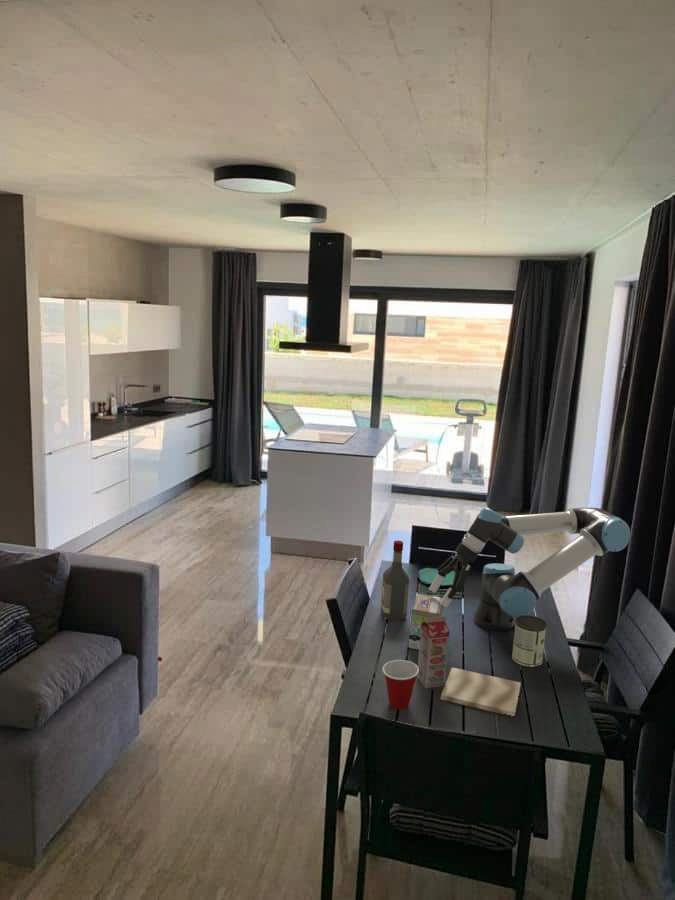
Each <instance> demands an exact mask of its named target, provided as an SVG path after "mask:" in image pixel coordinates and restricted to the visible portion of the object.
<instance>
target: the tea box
mask: <svg viewBox="0 0 675 900" xmlns="http://www.w3.org/2000/svg"><path fill="white" fill-rule="evenodd" d="M427 595H428V594H422V593H421V594H420V593H417V594H416V596H415V599H414V603H413V606H412V610H411V621H410V629H409V637H408V648H409V649H412V650H413V649H415V650H418V651H419V647H420V635H421V623H426V618H430V617H443V616H442V615H443V607H444V606H443V605H442V604H440V602H441V601H442V599H443V597H434V596H427Z"/></svg>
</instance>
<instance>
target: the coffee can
mask: <svg viewBox="0 0 675 900" xmlns="http://www.w3.org/2000/svg"><path fill="white" fill-rule="evenodd" d="M547 626H548V623H547V622H546V621H545V620H544V619H543V618H540V617H538V616H534V615H523V616H518V617H515V618H514V636H513V643H512V644H513V645H512V654H511V659H512V660H513V661H514V662H515V663H517V664H518V665H520V666H524V667H528V666H529V668H534V667H535V666H537V667H539V666H541V665H542V664H543V656H544V647H545V640H546V629H547ZM538 665H539V666H538ZM535 668H536V667H535Z"/></svg>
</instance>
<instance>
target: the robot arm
mask: <svg viewBox="0 0 675 900" xmlns="http://www.w3.org/2000/svg"><path fill="white" fill-rule="evenodd" d="M564 532H567V533H568V534H570V535H574V534H575V535H576V534H578V535H579V536H577V537H576V538H574V539H573V540H572V541H570V542H569V543H567V544H566V545H564V546H563V547H561V548H560V549H558V550H557V551H555V552H554V553H552V554H551V555H549V556H548V557H547V558H545V559H544V560H543V561H541V562H539V563H538V564H537V565H535V566H534V567H532V568H531V569H529V570H527V571H519V572H517V573H516V570H515V567H514V566H513V565H509V564H505V563H495V562H494V563H487V564H485V565H484V567H483V571H482V577H481V588H480V589H481V590H480V599H479V603H478V604H477V606H476V609H475V611H474V613H473V621H474V622H475V624H476V625H478V626H479V627H482V628H483V629H487V630H491V631H498V632H499V631H500V632H501V631H508V630H511V629H512V628H513V627H515V618H517V617H518V616H523V615H528V616H530V614H531V613H533V611H534V610H535V608H536V606H537V601H539V600H540V599H541V598H542V597H541V596H542V593H543V592H544V591H546V590H547V589H548V588H550V587H552V586H553V585H554V584H555V583H557V582H559V581H560V580H562V578H564V577H566V576H568V575H569V574H570V573H572V572H573V571H574V570H576V569H577V568H578V567H580V566H582V565H583V564H584V563H586V562H587V561H589V560H590V559H592V558H593V557H595V556H599V557H602V556H604V555H605V554H607V553H608V552H616V553H617V552H620V551H622V550H623V549H625V548H626V547H627V545H628V544H629V542H630V537H631V530H630V526H629V525H628V523H627V522H625V520H623V519H622V518H621V517H619V516H615V515H613V514H611V513H609V512H608V511H606V510H604V509H602V508H598V507H576V508H567V509H566V510H565V511H557V512H545V513H532V514H521V515H520V514H518V515H506V516H502V515H501V514H499V513H497V512H495V511H494V510H493V509H491V508H489V507H487V506H484V507H483V508H482V509H481V510H480V512H479V513H478V514H477V515H476V518H475V519H474V521H472V523H471V525H470V527H469V529H468V530H467V532H466V533H464V535H463V538H462V539H461V542H460V543H459V544H458V545H457V547H456V549H455V552H456V553H455V552H454V551H453V552H452V553H451V554H450V555H449V557H448V558H447V559H446V560H445V561H444V562H443V563H442V564H440V566H439V567H438V569H437V570H438V571H439V572H438V575H437V576H436V578H435V580H434V581H433V583H432V584H431V585H429V590H428V591H432V592H431V593H433V594H436V591H438V590H437V589H440V587H441V586H440V585H441V583H442V582H443V580H444V577H445V578H446V575H447V574H449V573H450V572H452V571H454V572H455V576H454V580H453V584H452V586H449V588H448V591H446V592H445V593H446V594H444V597H442V598H443V599H442V601H441V602H440V604H442V605H443V607H445V608H448V606H449V605H450V603H451V602H452V600H453V599H454V598H453V597H454V596H456V595H457V594H456V593H462V592H463V589H464V587H465V584H466V581H467V579H468V576H469V573H470V572H471V570H472V565H470V564H469V563H474V562H475V561H476V559H477V558H478V556H479V553H481V552H482V550H483V549H484V547H485V545H486V544H487V542H488V541H490V542H492V543H494V544H495V545H496V546H498V547H500V548H502V549H503V550H504V551H506V552H508V553H510V554H512V555H513V554H517V553H518V552H520V551H521V549H522V548H523V546H524V545H525V544H524V543H525V539H524V537H523V536H524V535H525V536H527V535H528V536H529V535H540V534H554V533H564Z"/></svg>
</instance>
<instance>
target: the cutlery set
mask: <svg viewBox="0 0 675 900" xmlns="http://www.w3.org/2000/svg"><path fill="white" fill-rule="evenodd" d="M438 568H439V567H438ZM438 568H434V567H433V568H431V567H425V568H422V569H420V570H419V571H418V572H417V574H416V575H417V576H416V577H417V578H418V579H419V580H420V582H421V583H423V584H425V585H426V584H427V585H429V586H431V584H432V583H433V581H434V580H435V578H436V576H437V575H438V572H439V571H438V570H437V569H438ZM454 576H455V570H453V571H452V572H450V573H449V574H447V575H446V578H445V577H444V580H443V582H442V583H441V585H440V586H439V587H441V588H442V587H450V586H452V584H453V580H454ZM441 588H438V589H437V591H436V592H438V593H437V594H434V592H430V590H429V588H428V587H427V588H426V589H427V590H426V593H427V594H426V595H427V596H428V595H429V596H434V597H441V598H443V597H444V596H445V594H446V593H447V591H448V590H449V588H447V589H445V588H443V589H441ZM438 590H439V591H438ZM428 592H429V593H428ZM436 592H435V593H436ZM440 593H441V594H440ZM442 593H443V594H442ZM461 595H462V592H457V593H456V594H455V596H454V597H453V599H462V598H463V597H462V596H461Z"/></svg>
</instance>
